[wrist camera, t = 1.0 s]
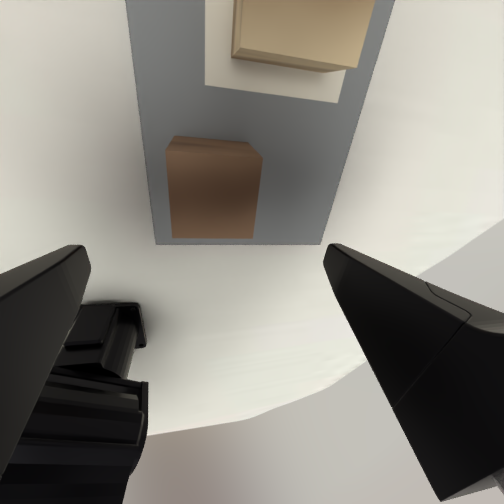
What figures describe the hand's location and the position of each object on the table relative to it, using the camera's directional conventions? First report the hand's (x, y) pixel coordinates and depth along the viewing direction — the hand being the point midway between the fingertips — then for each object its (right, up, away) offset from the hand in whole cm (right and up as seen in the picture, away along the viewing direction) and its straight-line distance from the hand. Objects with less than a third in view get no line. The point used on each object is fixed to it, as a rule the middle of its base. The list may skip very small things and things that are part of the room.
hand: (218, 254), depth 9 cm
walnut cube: (-2, +6, +9) cm, 11 cm away
